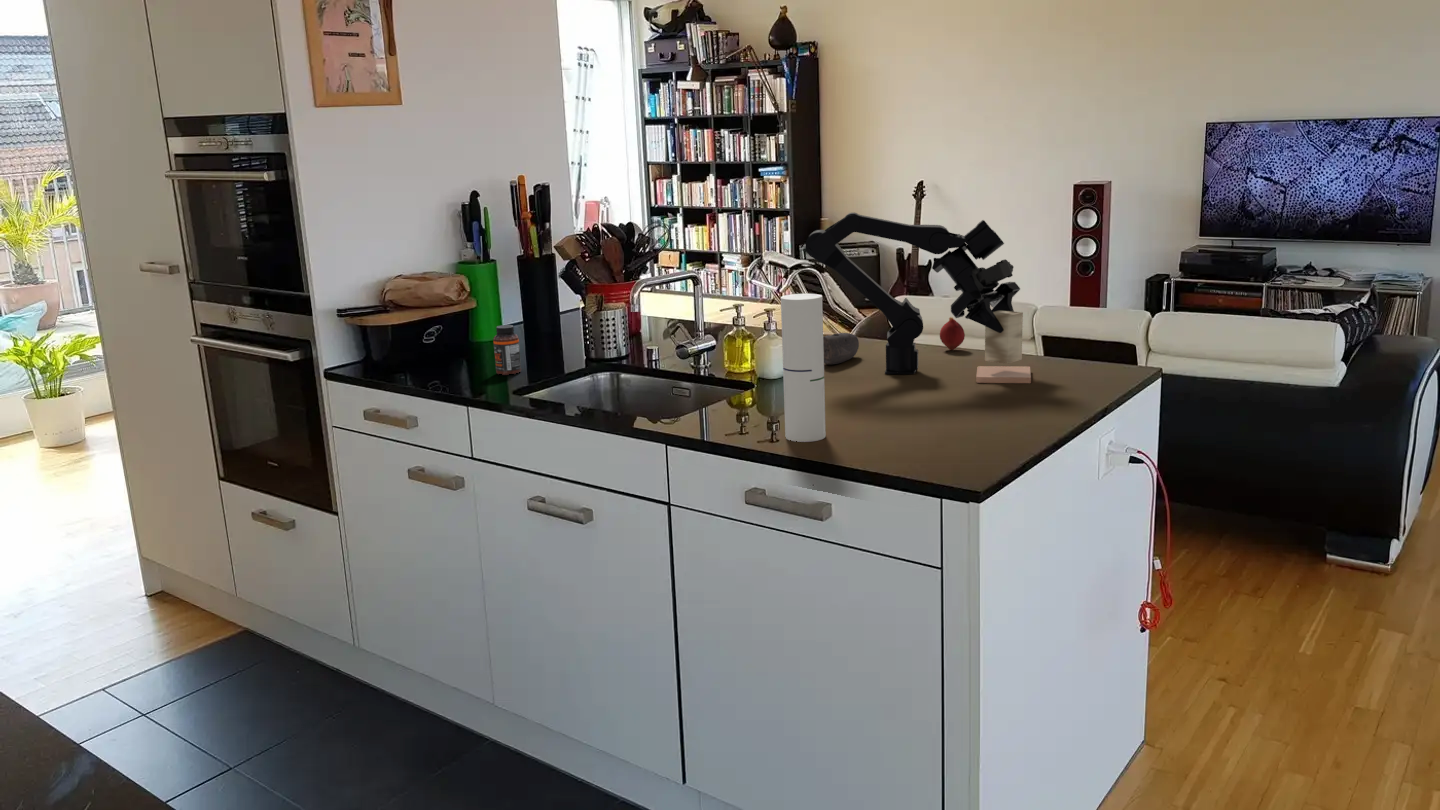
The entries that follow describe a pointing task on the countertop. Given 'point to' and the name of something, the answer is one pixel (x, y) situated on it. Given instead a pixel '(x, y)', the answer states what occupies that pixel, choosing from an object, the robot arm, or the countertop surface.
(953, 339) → the onion
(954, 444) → the countertop surface
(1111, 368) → the countertop surface
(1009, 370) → the terracotta tile
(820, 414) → the cylindrical container
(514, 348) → the supplement bottle
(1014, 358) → the birch block
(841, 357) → the perforated stone tool
